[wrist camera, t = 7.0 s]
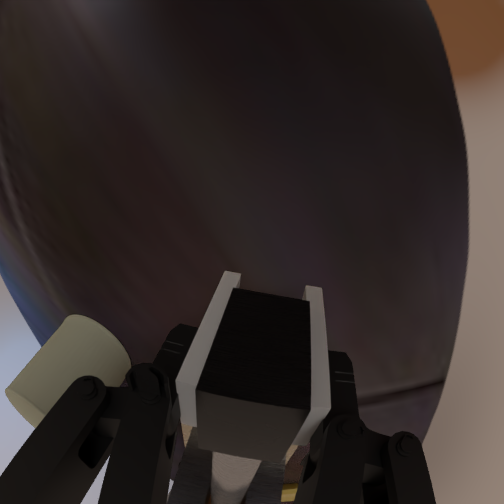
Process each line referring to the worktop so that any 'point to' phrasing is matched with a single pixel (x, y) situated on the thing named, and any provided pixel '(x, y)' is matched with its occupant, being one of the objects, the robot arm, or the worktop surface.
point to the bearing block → (200, 475)
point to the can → (67, 366)
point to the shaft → (253, 388)
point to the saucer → (289, 492)
